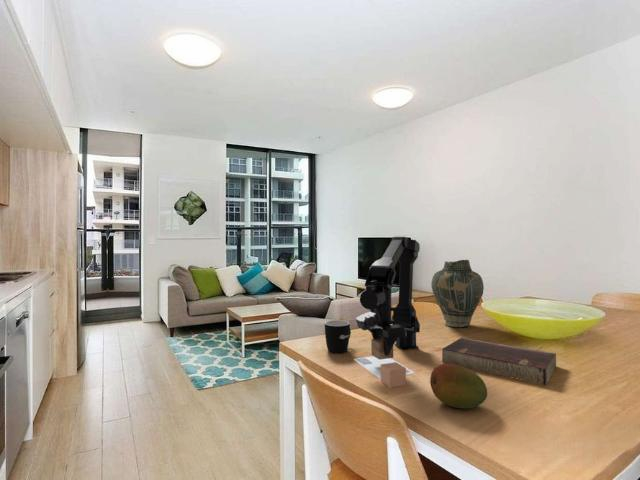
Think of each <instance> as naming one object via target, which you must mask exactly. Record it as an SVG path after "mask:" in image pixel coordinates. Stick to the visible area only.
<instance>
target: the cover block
mask: <svg viewBox="0 0 640 480" xmlns="http://www.w3.org/2000/svg"><path fill="white" fill-rule="evenodd" d="M396 362H397V361H396ZM396 362H394V363H387V364H381V379H380V382H381V383H383V384H384V385H385V386H387V387H388V388H389V389H390V388H391V389H392V388H396V387H402V386H403V387H404V386H406V385H407V383H406V382H407V380H406V379H407V378H406V376H407V375H406V368H407V367H406V366H404V365H403V366H404V367H403V366H401V365H402V364H401V363H399V362H398V363H399V364H398V363H396ZM400 364H401V365H400ZM405 367H406V368H405Z"/></svg>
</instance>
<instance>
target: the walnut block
mask: <svg viewBox="0 0 640 480" xmlns="http://www.w3.org/2000/svg"><path fill="white" fill-rule="evenodd" d="M370 341H371V345H370V346H371V356H374V357H376V358H377V359H379V360H380V359H387V358H391V359H393V358H394V346H393V347H392V349H391V351H390V353H389V355H388V356H386V355H385V352H384V344H383V339H382V338H377V339H373V338H371V340H370Z"/></svg>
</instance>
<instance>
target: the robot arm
mask: <svg viewBox="0 0 640 480" xmlns="http://www.w3.org/2000/svg"><path fill="white" fill-rule="evenodd" d="M420 245H421V244H420V243H419V241H417V240H416V239H413V238H408V237H406V236H393V237H392V238H391V240H390V243H389V245H388V246H387V248H386V250H385V252H384V253H383V255H382V256H381V258H379V259H377V260H375V261H374V262H373V263H371V266H370V267H369V269H368V273H367V275H366V279H365V283H364V286H365V290H363V291H362V293H361V294H360V295H359V296H360V297H359V302H360V304H361V305H360V306H362V307H363V308H364V309H366V310H369V311H367V312H365V313H362V314H361V315H359V316H357V317H355V321H356V324H357V327H358V329H360V330H362V331H369V333H370V334H371V336H372V339H377V338H382V339H383V344H384V352H385V355H386V356H388V355H389V353H390V351H391V349H392V347H393V348H394V346H395V347H397V348H399V349H401V350H403V351H407V350H417V349H419V347H420V346H418V345H417V333H420V332H421V331H420V330H421V329H420V327H421V324H420V321H419V320H418V317H417V316H418V315H417V311H416V308H415V307H414V304H413V300H412V299H413V277H414V276H413V275H414V263H415V262H416V261H417V259H418V258H419V252H420V250H421V249H420ZM397 262H399V283H398V286H399V287H398V303H397V304H396V306H395V307H393V306H392V288H393V284H394V282H395V278H396V275H397V272H396V269H395V267H396V265H397Z"/></svg>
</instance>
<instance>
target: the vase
mask: <svg viewBox="0 0 640 480" xmlns="http://www.w3.org/2000/svg"><path fill="white" fill-rule="evenodd" d="M430 285H431V290H432V294H433V297H434V299H435V301H436V303H437V305H438V307H439V308H440V311H441V313H442V316H443V320H444V321H445V323H444V326H447V327H451V328H452V327H453V328H454V327H455V328H462V327H463V328H465V327H467V326H468V327H469V326H470V325H471V321H472V318H473V315H474V313H475V311H476V310H477V307H478V305H479V304H480V302H481V299H482V297H483V295H484V286H485V285H484V280H483V278H482V276H481V274H479V273H478V272H476V271H474V270H472V267H471V263H470V260H469V259H460V260H456V261H444V265H443V267H442V269H441V270H439V271H436V272H435V273H434V274H433V275H432V279H431V284H430Z"/></svg>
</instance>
